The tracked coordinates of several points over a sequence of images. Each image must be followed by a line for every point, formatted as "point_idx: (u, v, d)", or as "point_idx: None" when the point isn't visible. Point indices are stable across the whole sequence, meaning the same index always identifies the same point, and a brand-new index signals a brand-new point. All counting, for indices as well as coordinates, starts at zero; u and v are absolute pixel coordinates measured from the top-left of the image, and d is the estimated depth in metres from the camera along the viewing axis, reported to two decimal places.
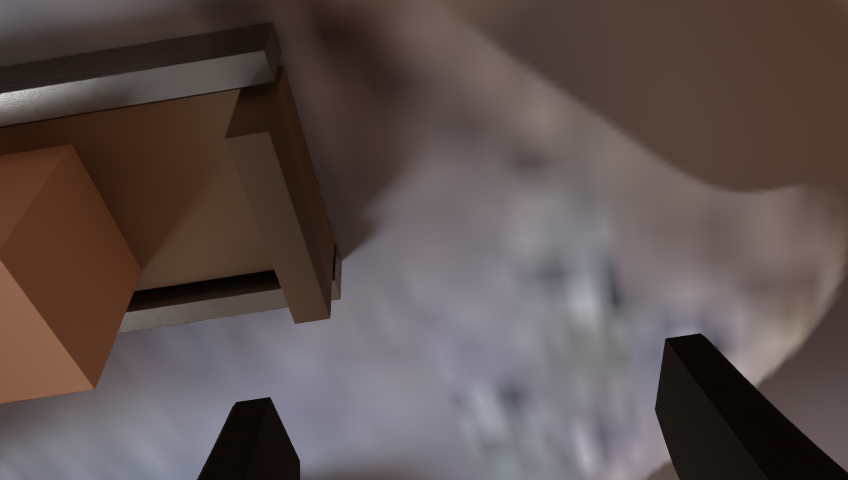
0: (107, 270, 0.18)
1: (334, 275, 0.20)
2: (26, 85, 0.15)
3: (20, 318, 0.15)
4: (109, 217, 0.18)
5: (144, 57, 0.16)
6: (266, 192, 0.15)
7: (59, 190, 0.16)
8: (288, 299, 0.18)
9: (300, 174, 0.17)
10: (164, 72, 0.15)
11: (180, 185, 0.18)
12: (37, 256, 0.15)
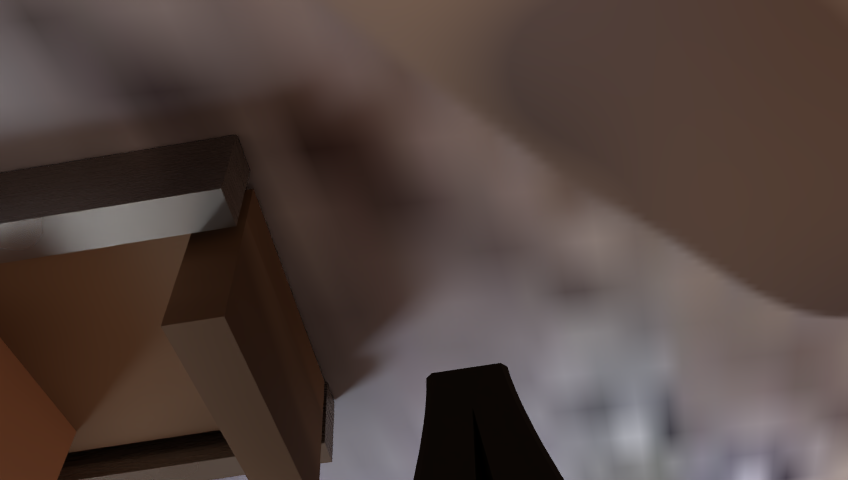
0: (20, 455, 0.13)
1: (324, 434, 0.16)
2: None
3: None
4: (27, 376, 0.14)
5: (57, 189, 0.11)
6: (225, 385, 0.11)
7: None
8: None
9: (276, 334, 0.13)
10: (81, 217, 0.11)
11: (118, 339, 0.14)
12: None
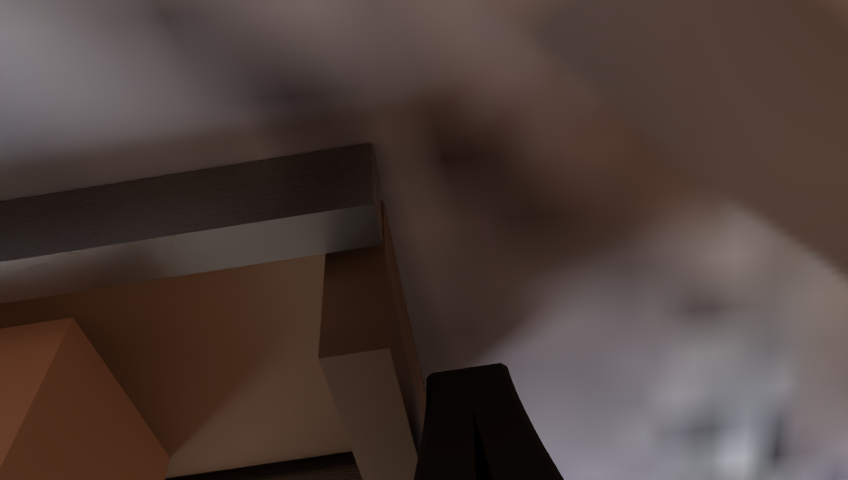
0: None
1: None
2: (4, 251, 0.10)
3: None
4: (126, 400, 0.13)
5: (183, 203, 0.10)
6: (373, 420, 0.10)
7: (55, 401, 0.11)
8: None
9: (407, 359, 0.12)
10: (216, 234, 0.10)
11: (228, 362, 0.13)
12: None
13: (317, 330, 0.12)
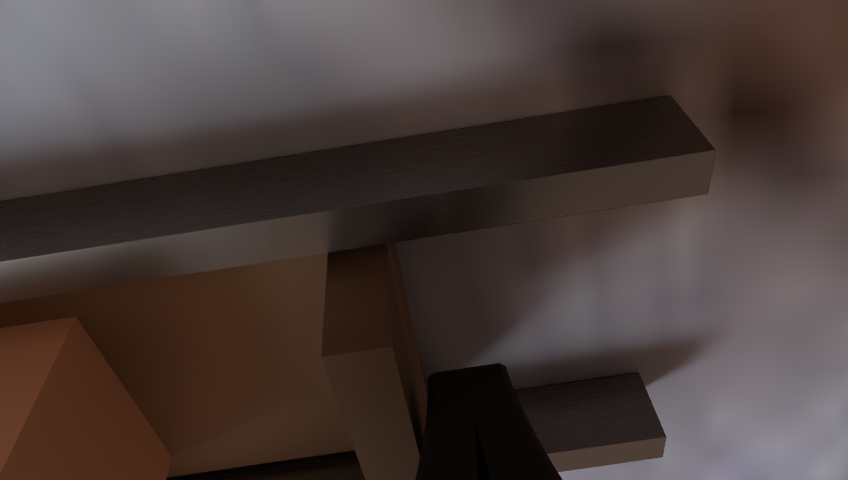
0: None
1: (660, 427, 0.14)
2: (329, 200, 0.10)
3: None
4: (128, 399, 0.13)
5: (500, 153, 0.10)
6: (376, 418, 0.10)
7: (59, 400, 0.11)
8: None
9: (409, 358, 0.12)
10: (550, 182, 0.10)
11: (230, 361, 0.13)
12: None
13: (319, 328, 0.12)
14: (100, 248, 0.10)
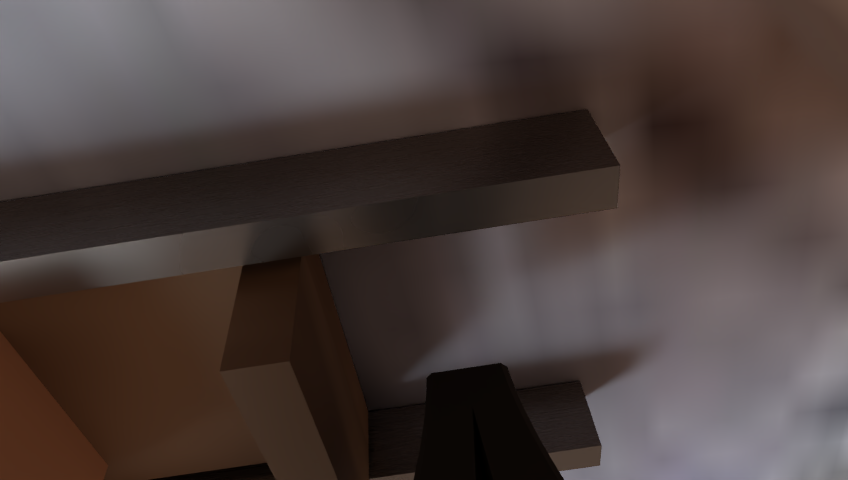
0: None
1: (597, 435, 0.15)
2: (240, 214, 0.10)
3: None
4: (59, 409, 0.13)
5: (413, 167, 0.10)
6: (284, 431, 0.10)
7: None
8: None
9: (330, 369, 0.12)
10: (458, 196, 0.10)
11: (158, 372, 0.13)
12: None
13: None
14: (13, 261, 0.10)
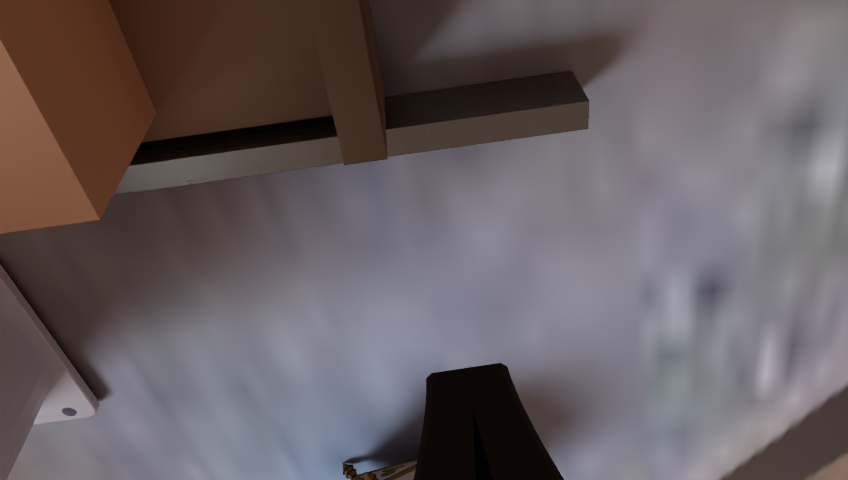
0: (116, 90, 0.14)
1: (585, 97, 0.17)
2: None
3: (7, 102, 0.11)
4: (119, 34, 0.15)
5: None
6: None
7: None
8: (339, 128, 0.14)
9: None
10: None
11: None
12: (29, 26, 0.11)
13: None
14: None
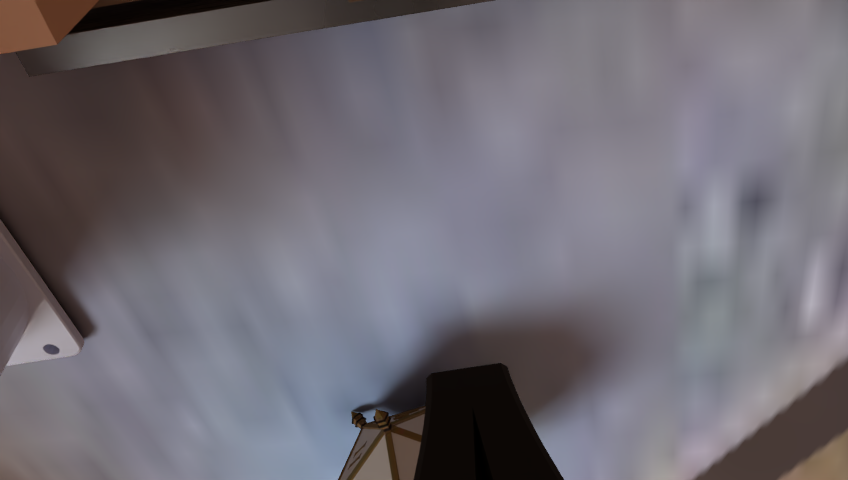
0: None
1: None
2: None
3: None
4: None
5: None
6: None
7: None
8: None
9: None
10: None
11: None
12: None
13: None
14: None
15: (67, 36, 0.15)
